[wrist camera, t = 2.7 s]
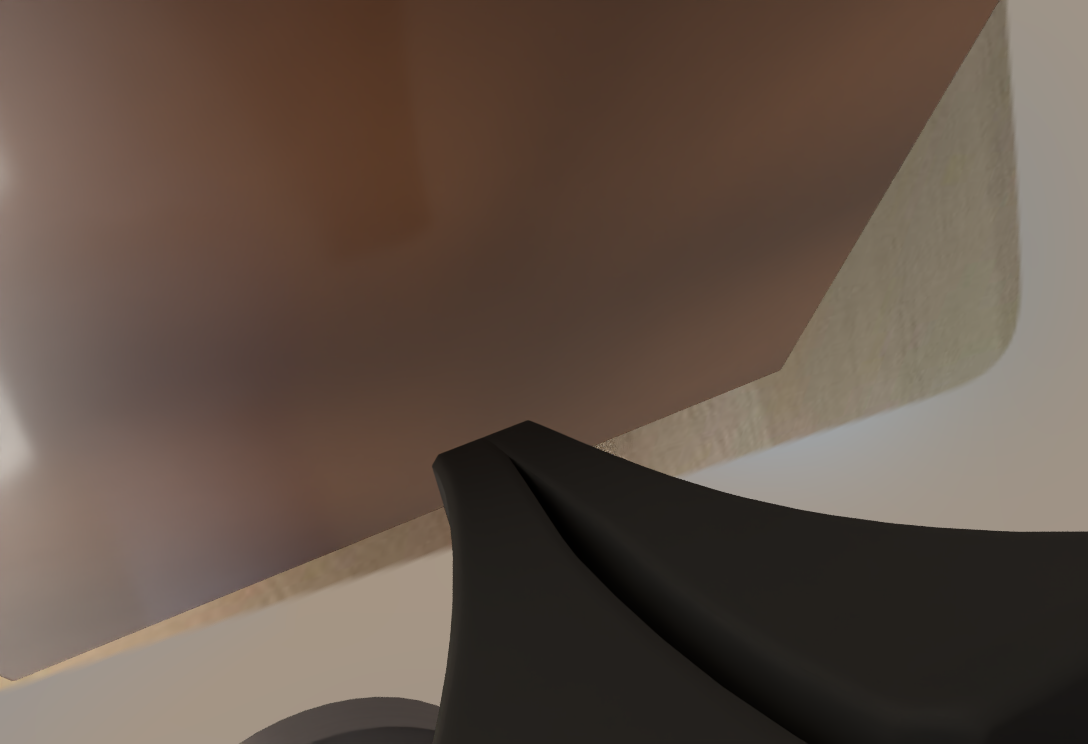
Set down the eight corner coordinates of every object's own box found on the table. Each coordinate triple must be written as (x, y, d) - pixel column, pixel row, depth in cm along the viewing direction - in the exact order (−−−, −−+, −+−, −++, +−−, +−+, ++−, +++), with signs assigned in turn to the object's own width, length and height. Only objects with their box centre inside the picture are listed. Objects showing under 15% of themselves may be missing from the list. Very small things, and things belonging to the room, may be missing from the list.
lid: (-1682, -190, 3) (-1861, -74, 3) (1191, -475, 7) (1268, -443, 7) (5, 639, 15) (12, 684, 14) (761, 342, 19) (781, 371, 18)
